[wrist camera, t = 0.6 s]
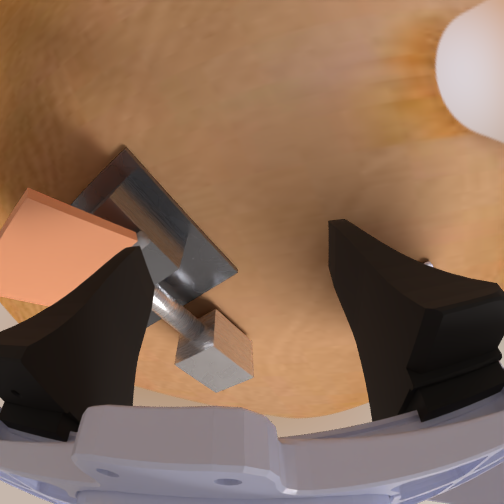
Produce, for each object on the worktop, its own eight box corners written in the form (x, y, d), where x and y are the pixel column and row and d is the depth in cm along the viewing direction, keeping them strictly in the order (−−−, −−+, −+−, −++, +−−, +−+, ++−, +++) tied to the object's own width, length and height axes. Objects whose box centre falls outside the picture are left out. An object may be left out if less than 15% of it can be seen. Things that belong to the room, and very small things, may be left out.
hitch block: (237, 269, 24) (237, 306, 21) (142, 327, 27) (132, 362, 24) (126, 147, 19) (102, 166, 15) (43, 237, 22) (19, 266, 19)
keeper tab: (147, 233, 18) (150, 246, 17) (68, 301, 20) (70, 312, 20) (29, 183, 11) (27, 198, 11) (-27, 279, 14) (-27, 292, 13)
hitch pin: (252, 341, 28) (253, 377, 24) (217, 357, 29) (216, 392, 26) (106, 200, 20) (83, 228, 17) (75, 232, 21) (52, 262, 18)
